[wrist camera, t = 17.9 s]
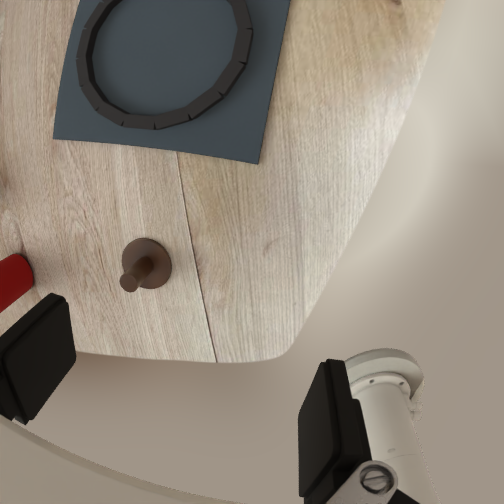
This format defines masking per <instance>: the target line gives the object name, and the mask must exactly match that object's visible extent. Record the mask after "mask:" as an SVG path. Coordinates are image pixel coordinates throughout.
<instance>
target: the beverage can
mask: <svg viewBox="0 0 504 504" xmlns="http://www.w3.org/2000/svg"><path fill="white" fill-rule="evenodd" d="M32 285H33V274H32V271H31V268H30V266H29V264H28V263H27V261H26V260H25V259H24V258H23V257H22V256H20V255H18V254H12V255H10V256H8V257H7V258H5V259H3V260H1V261H0V313H1V312H2V311H3V310H5V309H6V308H7V307H8V306H10V305H11V304H12V303H13V302H15V301H16V300H17V299H18V298H20V297H21V296H22V295H23V294H24V293H26V292H27V291H28V290H29V289H31V287H32Z"/></svg>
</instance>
